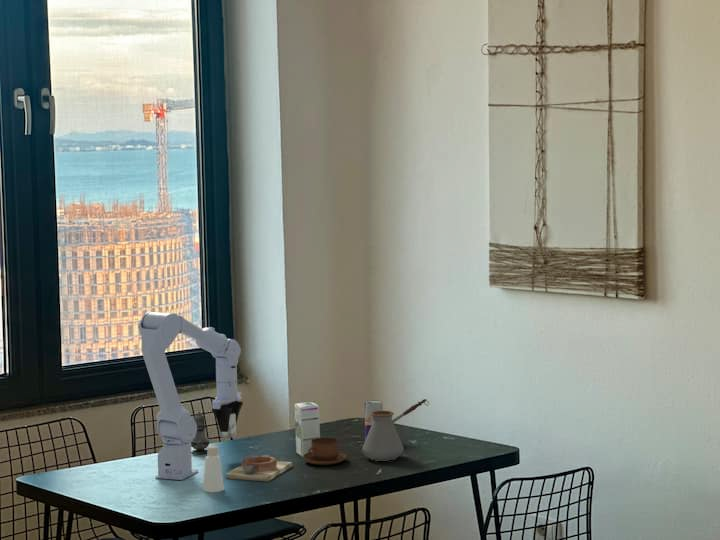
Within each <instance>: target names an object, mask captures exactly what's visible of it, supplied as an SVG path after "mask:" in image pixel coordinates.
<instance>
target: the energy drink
mask: <svg viewBox="0 0 720 540" xmlns="http://www.w3.org/2000/svg"><path fill="white" fill-rule="evenodd" d="M383 405H384V404H383V401H382V400H379V399H370V400H369V399H368V400H366V401H365V402H364V436H365V437H364V439H365V440H366V438H367V435H368V433H369V430H370V428H371V425H372V423H373V417H372V415H371V413H372V412H375V411H384V406H383ZM365 440H364V441H365Z"/></svg>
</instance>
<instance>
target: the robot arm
mask: <svg viewBox="0 0 720 540" xmlns="http://www.w3.org/2000/svg"><path fill="white" fill-rule="evenodd" d="M137 327H138V330H139V333H140V337H141V354H142V356H143V357H142V358H143V360H144V363H145V366H146V370H147V373H148V376H149V379H150V382H151V384H152V387H153V390H154V394H155V397H156V400H157V403H158V406H159V411H158V412H157V414H156V416H155V419H156V424H157V425H156V430H157V435H158V436H159V437H160V438H161V442H163V445H162V447H161V448H159V451H158V453H157V475H154V476H155V477H154V478H155V479H164V480H165V479H166V480H175V481H176V480H177V481H179V480H180V481H182V480H184V479H187V478H188V477H190V476H192V475H193V474H196V473H198V472H199V469H195V468H194V469H193V465H192V463H193V461H192V454H191V452H192V446H191V442H192V441H193V439H194V437H195V435H196V433H197V425H196V422H195V421H194V418H192V414H191V413H190V411H189V410H188V409H187V408H186V407H185V406H183V405H182V403H181V400H180V396H179V394H178V393H179V392H178V390H177V387H176V385H175V384H176V383H175V382H174V377H173V374H172V371H171V369H170V365H169V361H168V359H167V355H166V353H165V352H166V350H167V349H168V348H170V346H171V345H172V344H173V342H174V341H175V339H176V338H177V337H178V335H179V334H181V335H183V336H185V337H188V338H190V339H192V340H195V344H196V346H198V348H201V349H203V350H205V351H206V352H209V353H210V354H211V356H212V357H213V358H214V359H215V380H216V382H215V383H216V397H215V398H214V400H212V401H211V403H212V406H211V411H212V413H213V414H214V417H215V419H216V421H217V424H218V429H219V433H220V432H228V429H229V419H230V414H231V411H232V412H235V413H236V425H237V423H238V419H239V415H240V412H241V410H242V407H243V401H242V399H243V397H242V392H240V391H239V392H238V368H237V366H238V363H239V358H240V355H241V352H242V347H240V345H239V343H238V341H237V340H236V339H234V338H227V335H226V334H224V333H219V332H217V331H215V330H216V328H214V327H213V326H212V327H211V326H208V327H203V328H200V327H199V326H198V325H196V324H194V323H193V322H191V321H189V320H187V319H186V318H184V317H183V315H178V314H177V313H176V312H175V313H173V312H172V313H171V312H169V313H166V312H158V311H157V312H155V311H152V310H151V311H147V312H145V313H144V314H143V315H142V317H141V319H140V321H139V324H138V326H137Z"/></svg>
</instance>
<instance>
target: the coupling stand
mask: <svg viewBox="0 0 720 540" xmlns="http://www.w3.org/2000/svg"><path fill="white" fill-rule="evenodd" d="M241 461H242V462H241V465H239V466H237V467H236V468H235V467H234V469H232V470H230V471H228V472H226V473H225V479H231V480H244V481H256V482H257V481H258V482H270V481H271V480H273V479H274V478H276V477H278V476H280V475H281V474H282V473H284V472H286V471H287V470H289V469H290V468H292V467H293V462H292V461H281V460H280V461H279V460H277V459H276V458H275V457H274V456H270V455H269V454H261V455H254V456H248V457H246V458H244V459H242V460H241Z"/></svg>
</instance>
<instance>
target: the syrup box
mask: <svg viewBox="0 0 720 540" xmlns="http://www.w3.org/2000/svg"><path fill="white" fill-rule="evenodd" d="M294 425H295V427H294V428H295V452H296V454H297V455H299V457H302V458H303V456H304V455H305V454H307V453H308V451H309V449H310V448H311V447H312V445H311V441H312V440H313V439H316V438H321V432H320V431H321V428H320V405H318V404H317V403H314V402H312V401H309V402H308V401H305V402H299V403H298V402H297V403H294ZM310 452H312V450H311V451H310Z"/></svg>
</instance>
